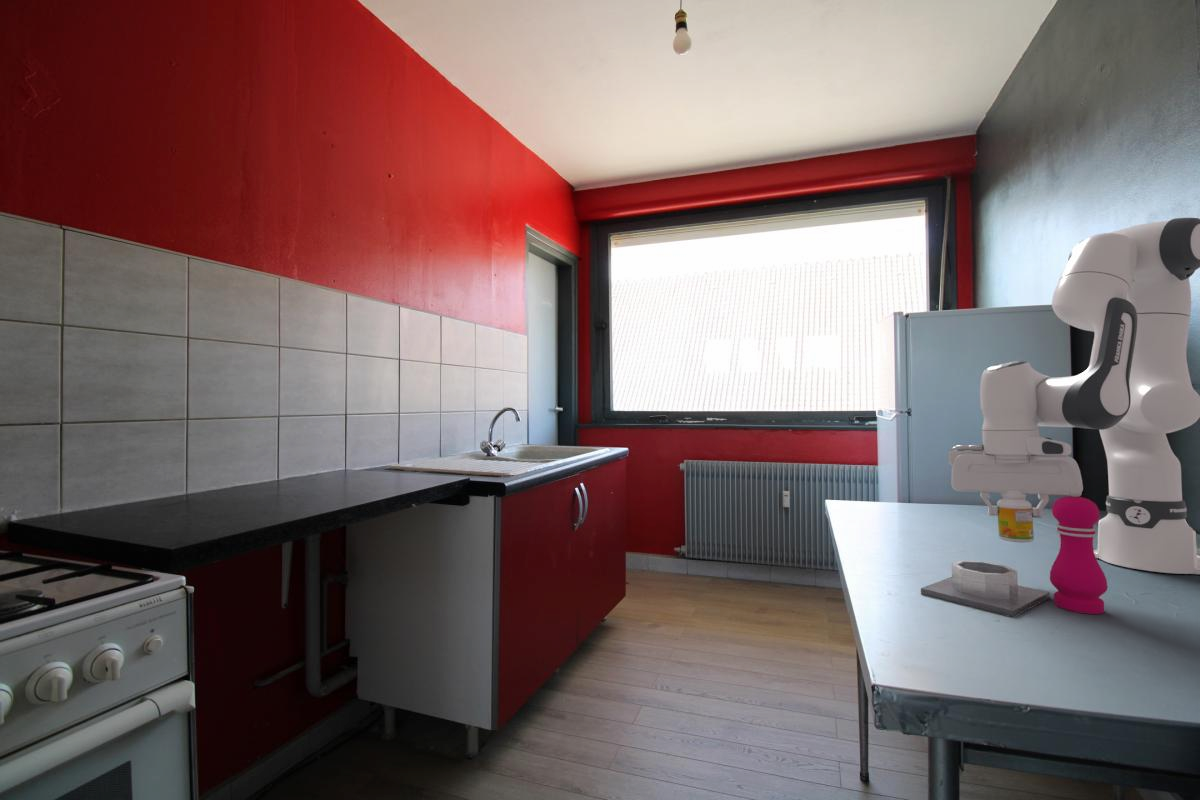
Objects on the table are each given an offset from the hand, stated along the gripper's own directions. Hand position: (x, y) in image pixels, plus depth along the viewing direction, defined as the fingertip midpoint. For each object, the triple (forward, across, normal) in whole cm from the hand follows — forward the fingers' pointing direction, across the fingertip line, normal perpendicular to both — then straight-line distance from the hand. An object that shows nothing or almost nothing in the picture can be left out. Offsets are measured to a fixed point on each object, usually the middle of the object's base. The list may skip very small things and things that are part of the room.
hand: (1014, 516), depth 105 cm
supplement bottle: (+5, 0, 0) cm, 5 cm away
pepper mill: (+13, +7, -12) cm, 19 cm away
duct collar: (+12, -6, -13) cm, 19 cm away
